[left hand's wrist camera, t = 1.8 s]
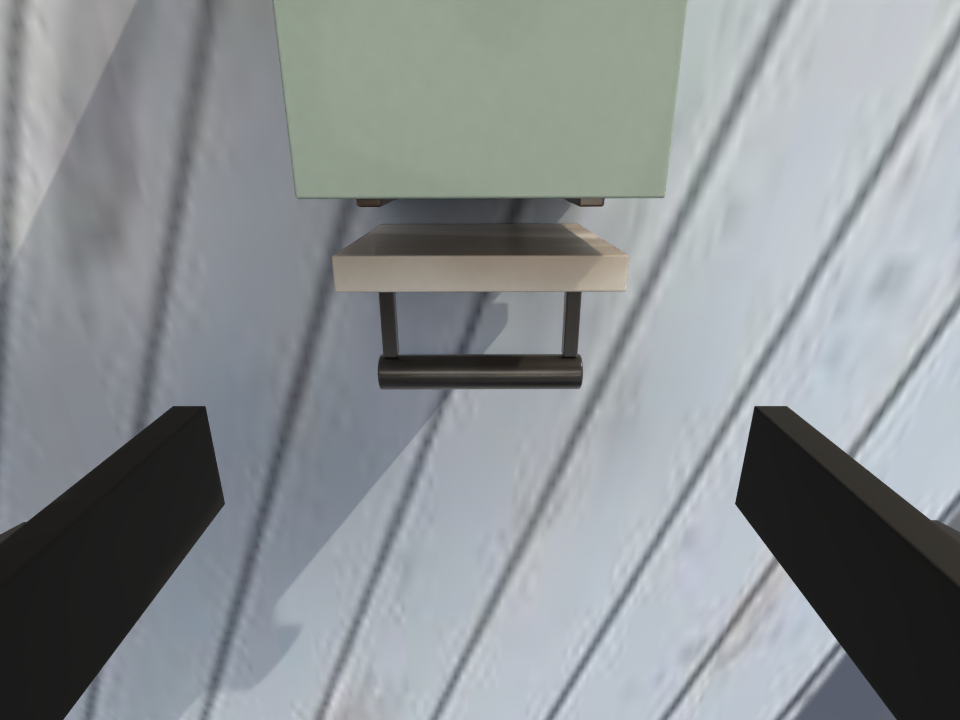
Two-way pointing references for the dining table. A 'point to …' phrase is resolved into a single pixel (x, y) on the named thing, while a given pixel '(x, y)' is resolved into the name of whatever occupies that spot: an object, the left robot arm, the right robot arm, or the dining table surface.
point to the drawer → (480, 268)
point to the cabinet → (479, 97)
